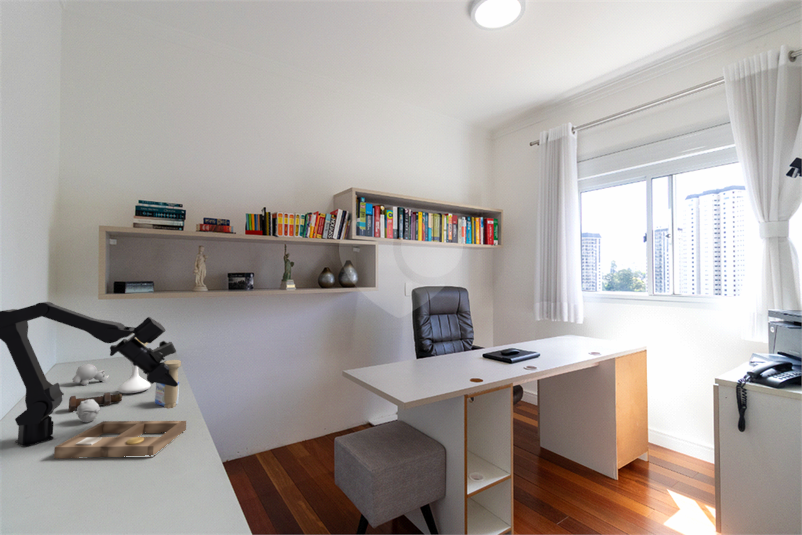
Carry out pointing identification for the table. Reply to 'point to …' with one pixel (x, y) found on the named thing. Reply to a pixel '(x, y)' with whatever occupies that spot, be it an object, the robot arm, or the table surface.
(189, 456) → the table surface
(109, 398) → the bolt
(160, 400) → the medicine box
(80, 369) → the chubby cartoon animal
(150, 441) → the socket board
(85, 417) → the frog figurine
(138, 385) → the flower in vase
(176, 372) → the handle
